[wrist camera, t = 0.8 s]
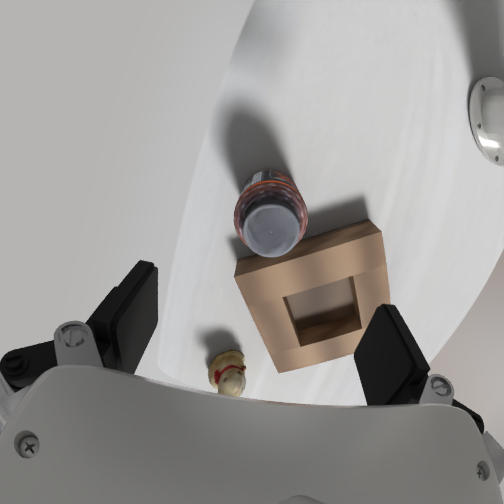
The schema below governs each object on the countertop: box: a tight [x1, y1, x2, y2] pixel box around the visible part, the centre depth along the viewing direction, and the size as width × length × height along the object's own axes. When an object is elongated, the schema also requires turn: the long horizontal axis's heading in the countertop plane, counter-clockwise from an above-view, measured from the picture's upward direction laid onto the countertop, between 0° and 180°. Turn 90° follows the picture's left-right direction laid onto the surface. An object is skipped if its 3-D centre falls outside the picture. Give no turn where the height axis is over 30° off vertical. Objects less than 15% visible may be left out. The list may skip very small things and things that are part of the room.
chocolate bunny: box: [208, 350, 246, 397], centre depth 36 cm, size 6×8×10 cm
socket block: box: [234, 219, 390, 373], centre depth 33 cm, size 16×16×4 cm
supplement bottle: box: [234, 170, 308, 257], centre depth 24 cm, size 6×6×11 cm
